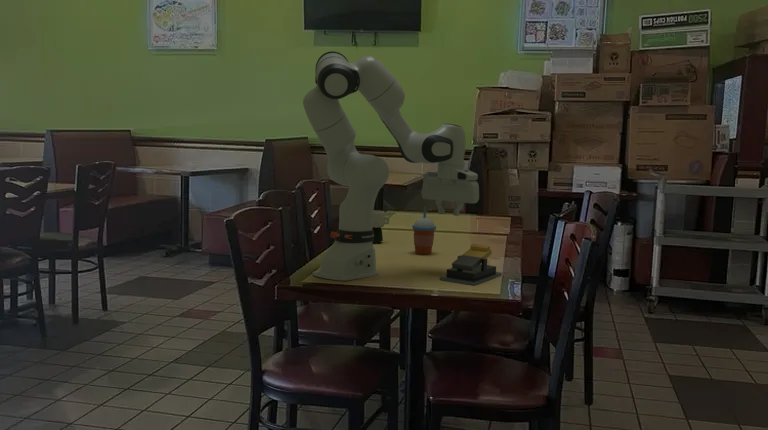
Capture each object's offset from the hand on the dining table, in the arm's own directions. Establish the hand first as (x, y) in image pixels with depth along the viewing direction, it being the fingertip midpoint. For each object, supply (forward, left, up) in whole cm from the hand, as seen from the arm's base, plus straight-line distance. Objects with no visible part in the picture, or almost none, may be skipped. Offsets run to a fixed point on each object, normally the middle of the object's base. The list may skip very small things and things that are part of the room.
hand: (448, 214), depth 235 cm
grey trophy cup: (+31, +51, -19) cm, 63 cm away
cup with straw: (+23, +23, -19) cm, 38 cm away
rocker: (-5, -12, -13) cm, 19 cm away
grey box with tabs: (-5, -12, -19) cm, 23 cm away
